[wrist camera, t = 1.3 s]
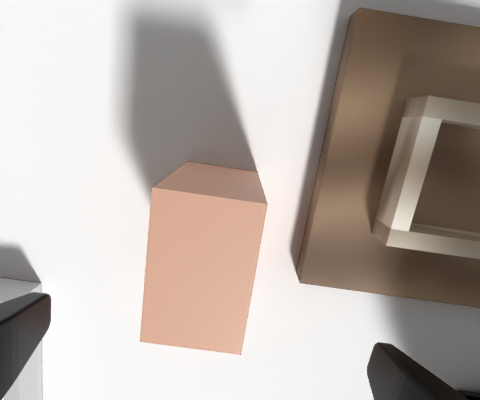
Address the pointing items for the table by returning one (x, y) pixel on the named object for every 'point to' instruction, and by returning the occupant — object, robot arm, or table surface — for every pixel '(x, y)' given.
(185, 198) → the key block
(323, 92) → the table surface
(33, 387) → the bracket rim
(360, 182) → the socket board
